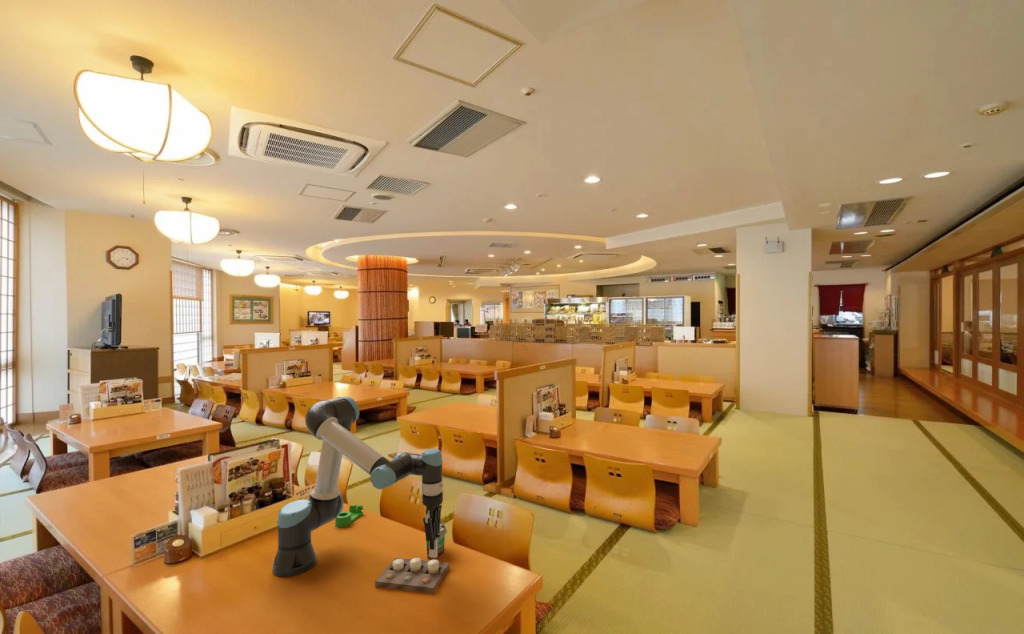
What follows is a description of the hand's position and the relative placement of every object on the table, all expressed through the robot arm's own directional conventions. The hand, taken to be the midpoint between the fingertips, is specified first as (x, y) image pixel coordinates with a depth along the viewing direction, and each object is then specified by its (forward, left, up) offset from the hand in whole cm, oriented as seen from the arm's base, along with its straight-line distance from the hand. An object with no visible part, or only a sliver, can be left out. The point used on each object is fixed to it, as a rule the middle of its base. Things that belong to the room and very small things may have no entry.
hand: (433, 556), depth 161 cm
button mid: (-7, 0, -6) cm, 9 cm away
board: (-7, -2, -7) cm, 10 cm away
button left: (-14, 0, -7) cm, 16 cm away
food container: (-4, +16, -8) cm, 18 cm away
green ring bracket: (-58, +37, -8) cm, 69 cm away
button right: (0, 0, -6) cm, 6 cm away
